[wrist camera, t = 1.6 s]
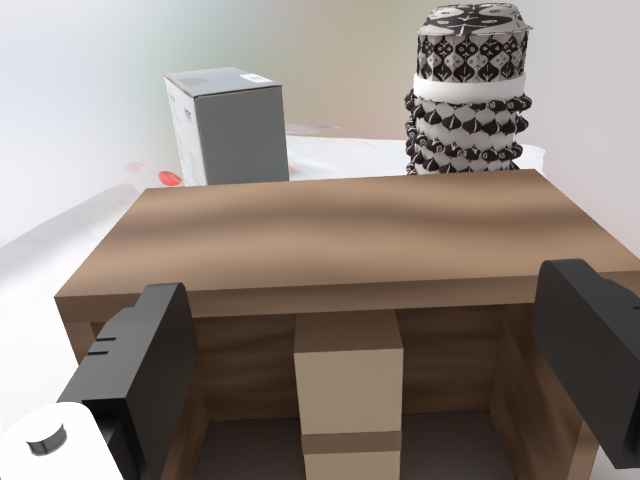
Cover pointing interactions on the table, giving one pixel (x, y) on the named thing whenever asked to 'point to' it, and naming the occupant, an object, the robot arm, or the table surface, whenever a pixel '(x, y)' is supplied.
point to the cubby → (360, 295)
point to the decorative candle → (468, 90)
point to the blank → (350, 393)
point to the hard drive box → (228, 127)
